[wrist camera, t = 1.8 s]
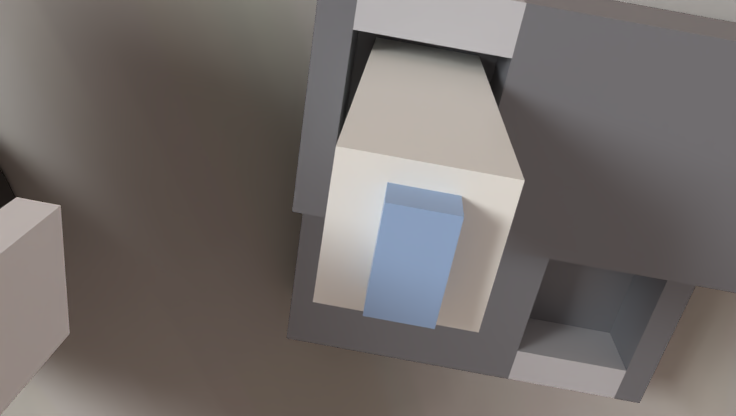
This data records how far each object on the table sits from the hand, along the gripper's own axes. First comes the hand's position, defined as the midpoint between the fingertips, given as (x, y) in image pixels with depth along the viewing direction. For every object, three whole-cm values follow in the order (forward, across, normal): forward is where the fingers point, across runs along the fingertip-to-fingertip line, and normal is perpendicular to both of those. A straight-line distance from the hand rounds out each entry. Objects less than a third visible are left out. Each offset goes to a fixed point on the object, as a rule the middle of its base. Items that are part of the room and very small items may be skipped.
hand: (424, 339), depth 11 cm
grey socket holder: (+19, +4, -4) cm, 20 cm away
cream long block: (+15, 0, 0) cm, 15 cm away
